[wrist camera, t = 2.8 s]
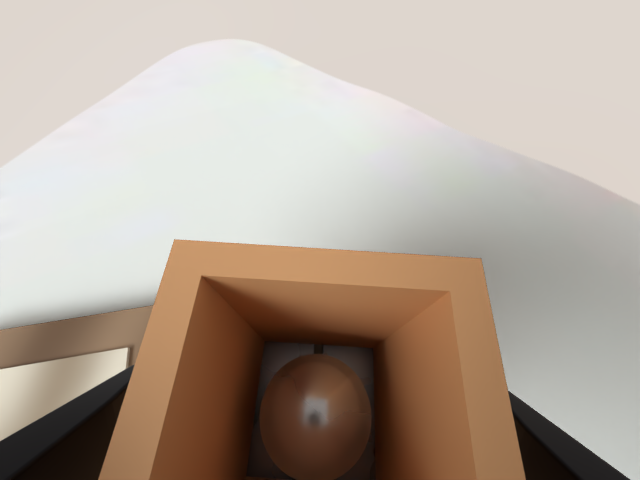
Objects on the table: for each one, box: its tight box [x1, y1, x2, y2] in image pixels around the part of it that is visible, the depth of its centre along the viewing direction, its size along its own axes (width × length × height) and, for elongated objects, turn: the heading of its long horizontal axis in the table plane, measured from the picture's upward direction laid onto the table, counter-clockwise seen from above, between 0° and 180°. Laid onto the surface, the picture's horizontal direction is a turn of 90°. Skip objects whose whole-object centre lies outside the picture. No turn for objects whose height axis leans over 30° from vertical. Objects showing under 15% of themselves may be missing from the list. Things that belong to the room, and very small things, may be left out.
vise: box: [246, 341, 376, 480], centre depth 11 cm, size 7×10×6 cm
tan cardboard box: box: [98, 239, 526, 480], centre depth 8 cm, size 6×6×8 cm
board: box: [0, 305, 322, 441], centre depth 14 cm, size 23×12×2 cm, turn 100°
